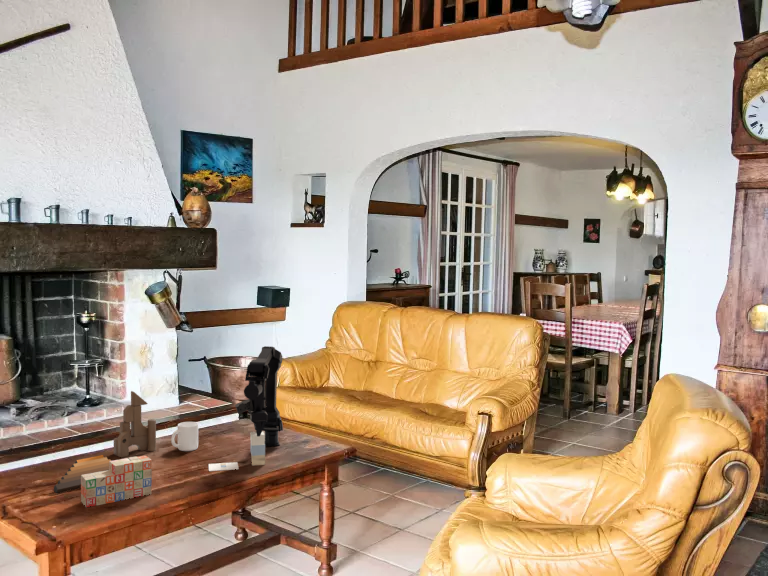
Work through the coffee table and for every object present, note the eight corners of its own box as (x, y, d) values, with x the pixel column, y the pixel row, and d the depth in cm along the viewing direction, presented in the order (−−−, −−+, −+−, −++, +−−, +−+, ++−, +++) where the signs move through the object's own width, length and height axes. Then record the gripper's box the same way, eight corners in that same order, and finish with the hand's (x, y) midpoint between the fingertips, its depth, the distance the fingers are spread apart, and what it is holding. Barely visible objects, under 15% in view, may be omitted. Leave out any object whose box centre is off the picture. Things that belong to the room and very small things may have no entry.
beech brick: (251, 461, 270) (251, 451, 270) (264, 460, 272) (264, 451, 271) (252, 465, 265) (252, 455, 265) (265, 464, 267) (265, 454, 266)
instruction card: (208, 464, 265) (208, 463, 265) (237, 462, 268) (237, 462, 268) (208, 471, 258) (208, 470, 258) (238, 469, 261) (238, 468, 261)
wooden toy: (120, 458, 271) (119, 396, 270) (113, 454, 276) (112, 393, 275) (157, 450, 282) (157, 390, 280) (150, 446, 287) (150, 388, 285)
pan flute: (57, 495, 232) (129, 478, 250) (57, 485, 232) (129, 469, 250) (32, 476, 250) (101, 462, 267) (32, 467, 250) (100, 453, 267)
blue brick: (250, 452, 270) (250, 442, 269) (263, 451, 271) (263, 441, 271) (252, 455, 265) (252, 445, 265) (265, 454, 267) (265, 444, 266)
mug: (176, 454, 277) (176, 429, 276) (165, 450, 282) (165, 425, 282) (202, 448, 286) (202, 424, 285) (190, 444, 291) (190, 420, 291)
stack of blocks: (85, 508, 221) (85, 471, 220) (80, 502, 226) (80, 465, 225) (152, 494, 234) (151, 459, 233) (145, 489, 239) (145, 454, 238)
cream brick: (250, 442, 270) (250, 432, 269) (263, 441, 271) (263, 431, 271) (251, 445, 265) (251, 435, 264) (264, 444, 266) (264, 434, 266)
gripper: (235, 389, 273) (235, 427, 274) (237, 399, 255) (237, 441, 256) (263, 388, 276) (263, 426, 277) (268, 398, 258) (267, 439, 259)
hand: (257, 433), depth 267 cm, fingers open, 9 cm apart
